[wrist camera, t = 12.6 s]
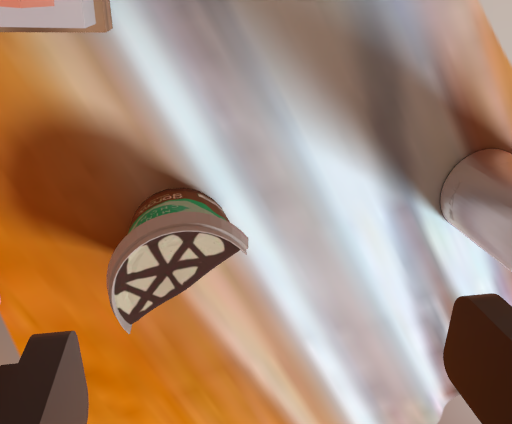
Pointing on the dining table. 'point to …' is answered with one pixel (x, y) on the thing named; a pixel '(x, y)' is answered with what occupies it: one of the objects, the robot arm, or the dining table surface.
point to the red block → (26, 3)
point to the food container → (168, 251)
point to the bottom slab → (101, 25)
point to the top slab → (51, 15)
